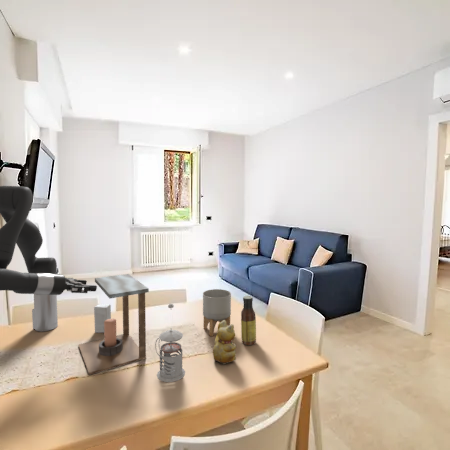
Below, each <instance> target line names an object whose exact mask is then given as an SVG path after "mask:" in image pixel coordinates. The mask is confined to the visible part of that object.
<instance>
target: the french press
mask: <svg viewBox="0 0 450 450" xmlns="http://www.w3.org/2000/svg"><path fill="white" fill-rule="evenodd" d="M167 307H168V308H169V309H173V308H174V307H175V306H174V304H173V303H169V304H168V306H167ZM183 337H184V334H183V332H182V331H179V330H177V329H167V330H165V331H162V332H161V333H160V334H159V336H158V338H157V339H156V340H155V342H154V343H155V345H154V348H155V352H156V354H157V355H158V357H159V370H158V371H157V374H156V377H157V379H158V380H159V381H161V382H165V383H174V382H178V381H180V380H181V379H183V378H184V376H185V375H186V370H185V369H184V368H183V348H182V345H181V343H179V342H177V341H180V340H181V339H183ZM160 341H161V342H165V343H164V344H162V345H161V346H160V345H158V348H159V352H158V351H157V342H160Z"/></svg>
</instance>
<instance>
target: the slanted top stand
mask: <svg viewBox="0 0 450 450" xmlns="http://www.w3.org/2000/svg"><path fill="white" fill-rule="evenodd" d="M94 283H95V284H96V286H97V285H98V286H97V287H99V288H100V289H101V291H102V292H103V293H104V294H105V295H106V296H107V298H109V299H116V298H122V334H118V335H117V334H116V340H117V345H116V346H113V347H105V338H102V339H97V340H93V341H88V342H84V343H80V344H78V348H79V351H80V354H81V356H82V359H83V362H84V364H85V368H86V370H87V372H88V375H89V376H90V375H94V374H97V373H101V372H104V371H108V370H110V369H114V368H118V367H120V366H121V367H122V366H124V365H128V364H130V363H131V364H132V363H134V362H138V361H142V360H145V359H147V349H146V347H147V345H146V344H147V337H146V332H147V331H146V329H147V328H146V325H147V324H146V293H149V292H150V291H149V290H150V289H149V287H148V286H146V285H144V284H143V283H142V282H141V281H139V280H137V279H136V278H135V277H133V276H132V275H130V274H129V273H125V274H119V275H118V274H117V275H110V276H109V275H108V276H102V277H95V278H94ZM133 295H137V298H138V299H137V300H138V301H137V302H138V304H137V305H138V308H137V309H138V311H137V312H138V344H137V343H136V342H135V340H134V339H133V338H132V337H131V335H130V314H129V313H130V312H129V310H130V309H129V296H133Z"/></svg>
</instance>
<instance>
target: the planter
mask: <svg viewBox="0 0 450 450" xmlns="http://www.w3.org/2000/svg"><path fill="white" fill-rule="evenodd" d="M231 308H232V293H231V291H229V290H226V289H221V288H219V289H217V288H216V289H215V288H213V289H208V290H204V291H203V292H202V316H203V330H207V329H208V328H209V331H208V332H209V333H208V334H209V337H214V336H215V335H214V333H215V329H216V328H215V327H216V325H217V322H218V324H219V323H220V322H222V321H223V320H225V321H226V323H227V325H228V326H229V325H231V314H232V309H231ZM208 326H209V327H208Z"/></svg>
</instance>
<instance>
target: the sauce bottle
mask: <svg viewBox="0 0 450 450" xmlns="http://www.w3.org/2000/svg"><path fill="white" fill-rule="evenodd" d="M253 298H254V297H253V296H251V295H245V296H243V297H242V301H243V308H242V309H241V313H240V316H241V317H240V321H241V323H240V325H241V326H240V328H241V331H240V333H241V335H240V336H241V337H240V338H241V342H242V344H243V345H244V346H253V345H255V344H256V343H257V327H256V326H257V324H256V323H257V322H256V321H257V320H256V312H255V310H254V307H253V301H254V299H253Z"/></svg>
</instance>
